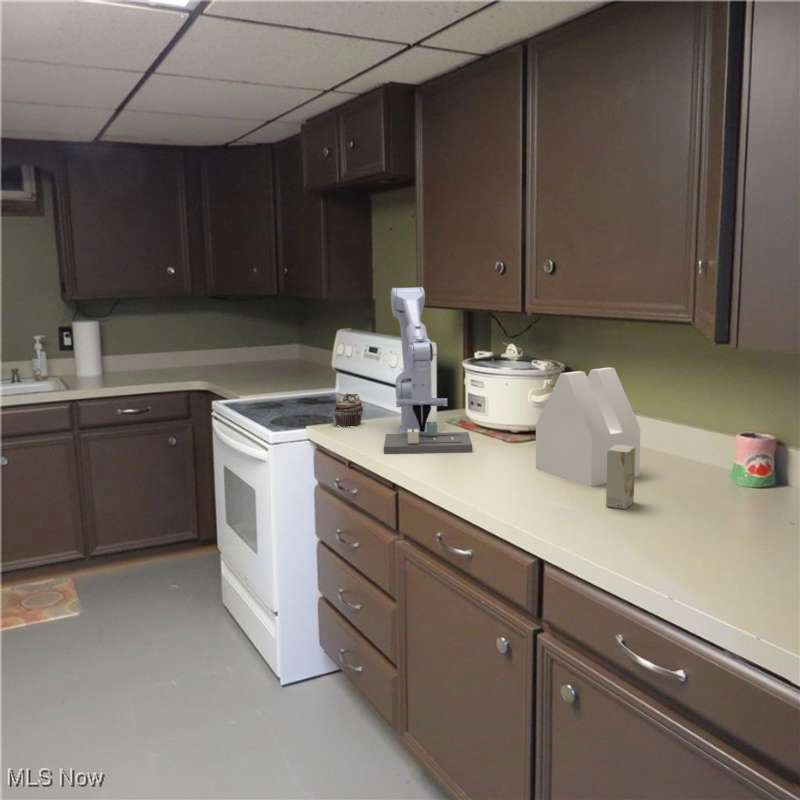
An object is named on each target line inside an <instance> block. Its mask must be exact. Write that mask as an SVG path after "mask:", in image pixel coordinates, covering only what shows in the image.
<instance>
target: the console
mask: <svg viewBox="0 0 800 800" xmlns="http://www.w3.org/2000/svg"><path fill="white" fill-rule="evenodd" d="M437 435H438V436H427V433H419V443H414V444H408V433H385V438H384V444H383V452H384V453H383V454H384V455H398V454H399V455H400V454H401V455H402V454H444V453H445V454H447V453H448V454H449V453H454V454H455V453H473V444H472V440H471V437H470V433H469V432H468V431H465V432H464V431H463V432H462V431H461V432H460V431H458V432H455V431H453V432H452V431H451V432H437Z"/></svg>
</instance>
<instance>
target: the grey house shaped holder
mask: <svg viewBox="0 0 800 800" xmlns="http://www.w3.org/2000/svg"><path fill="white" fill-rule="evenodd" d="M615 445H625V446H633V447H635V470H634V478H636V477H639V476H640V459H641V453H640V452H641V427H640V425H639V422H638V420H637V418H636V415H635V413H634V411H633V407H632V405H631V403H630V401H629V398H628V396H627V395H626V392H625V390H624V387H623V384H622V382H621V380H620V378H619V375H618V373H617V371H616V368H615V367H609V366H608V367H602V368H593V369H590V371H589V372H588V375H587V374H586V371H581V370H576V371H569V372H568V371H567V372H562V373H560V374H559V376H558V378H557V380H556V382H555V384H554V386H553V389H552V390H551V393H550V394H549V396H548V399H547V400H546V403H545V405H544V406H543V409H542V410H541V413H540V414H539V416H538V419H537V421H536V423H535V470H540V471H542V472H544V473H548V474H551V475H554V476H558V477H560V478H563V479H566V480H570V481H571V482H572V481H573V482H576V483H579V484H582V485H584V486H588V487H590V488H591V487H595V486H596V487H597V486H602V485H605V484H606V485H607V450H609V449H610V448H611V447H613V446H615Z"/></svg>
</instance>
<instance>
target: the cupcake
mask: <svg viewBox="0 0 800 800" xmlns="http://www.w3.org/2000/svg"><path fill="white" fill-rule="evenodd" d="M360 398H361V397H360V396H359V394H358V393H345V394H342V396H341V397H340V398H339V399H338V401H337V402H336V404H335V408H334V409H333V415H334V419H335V420H334V421H335V424H336V426H337V425H339V426H349V427H348V428H351V427H350V426H355V427H358V426H360V425H361V422H362V416H363V412H364V407H363V406H362V404H363V403H362V401H361V400H360ZM339 426H338V427H339Z"/></svg>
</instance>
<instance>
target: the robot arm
mask: <svg viewBox="0 0 800 800" xmlns="http://www.w3.org/2000/svg"><path fill="white" fill-rule="evenodd" d="M425 294H426V292H425V289H424V287H422V286H419V287H392V288H391V291H390V302H391V303H390V306H391V313H392V317H394V318H396V319H397V320H398V324H399V327H400V338H401V339H400V340H401V350H402V351H401V353H402V361H403V362H402V365H403V371H402V372H400V373H399V374H398V375H397V377H396V379H395V398H396V399H395V402H396V403H395V404H396V408H401V410H400V412H401V425H400V430H399V434H404V433H408V429H418V431H419V433H427V422H428V418H429V416H430V413H431V410H432V407H448V398H444V397H443V398H442V397H441V398H438V397H432V394H433V392H432V362H433V360H434V346H433V343H432V341H431V340H430V339H429V338H428V337H429V336H428V333H427V328H426V325H425V324H424V323H422V321H421V317H422V314H423V311H424V306H425V301H426V300H425V299H426V295H425Z"/></svg>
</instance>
